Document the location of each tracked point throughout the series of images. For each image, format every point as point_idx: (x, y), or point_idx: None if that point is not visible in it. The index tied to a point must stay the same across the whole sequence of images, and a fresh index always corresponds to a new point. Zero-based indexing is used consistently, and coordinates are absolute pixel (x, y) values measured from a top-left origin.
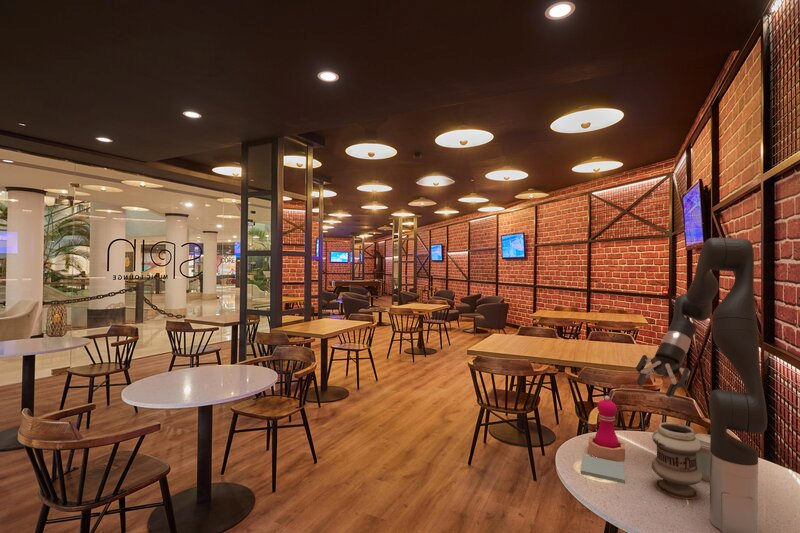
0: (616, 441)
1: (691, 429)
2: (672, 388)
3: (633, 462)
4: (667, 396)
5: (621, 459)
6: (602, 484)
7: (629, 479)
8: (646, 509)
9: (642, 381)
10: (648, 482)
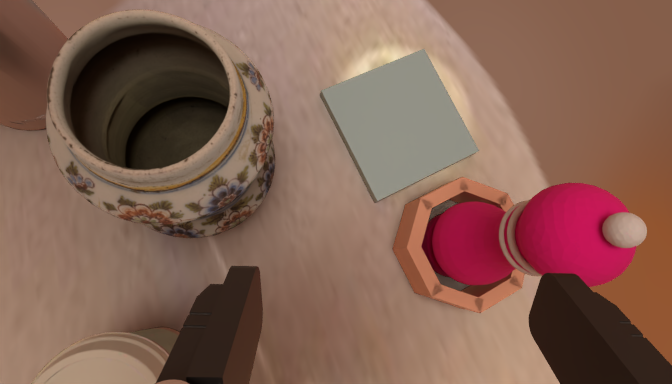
0: (441, 240)
1: (66, 130)
2: (197, 341)
3: (369, 259)
4: (260, 309)
5: (398, 234)
6: (354, 41)
7: (323, 128)
8: (224, 2)
9: (565, 338)
10: (279, 155)
